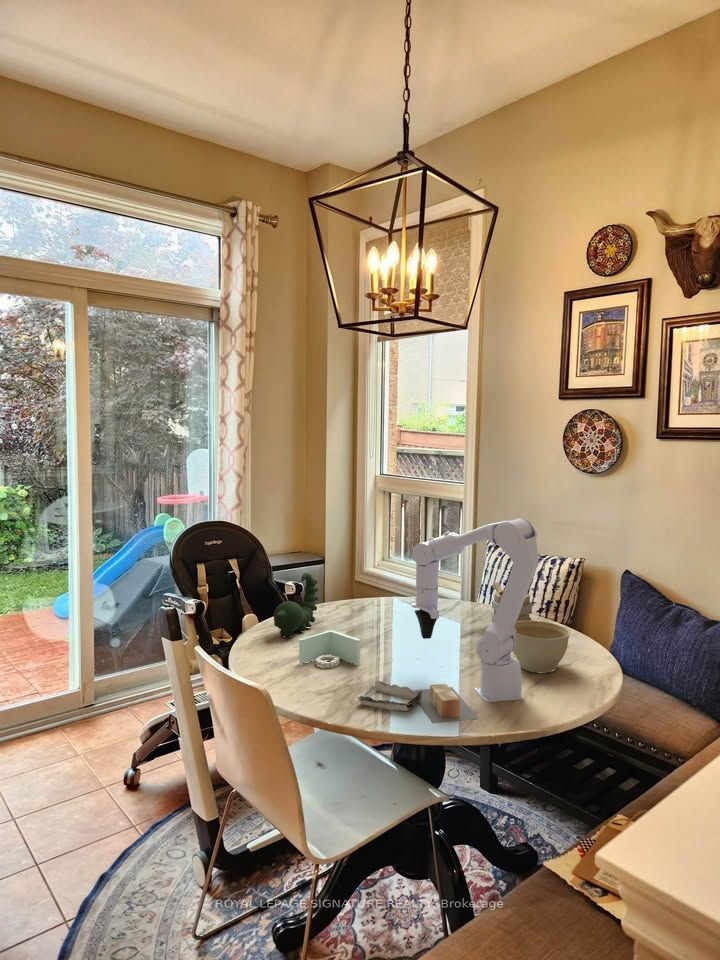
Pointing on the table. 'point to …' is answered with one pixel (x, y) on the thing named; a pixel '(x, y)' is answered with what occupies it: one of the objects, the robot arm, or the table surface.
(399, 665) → the table surface
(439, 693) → the birch block
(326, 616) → the table surface
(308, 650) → the l-shaped corner panel
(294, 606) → the toy figurine
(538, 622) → the planter bowl
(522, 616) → the tankard
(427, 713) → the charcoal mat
